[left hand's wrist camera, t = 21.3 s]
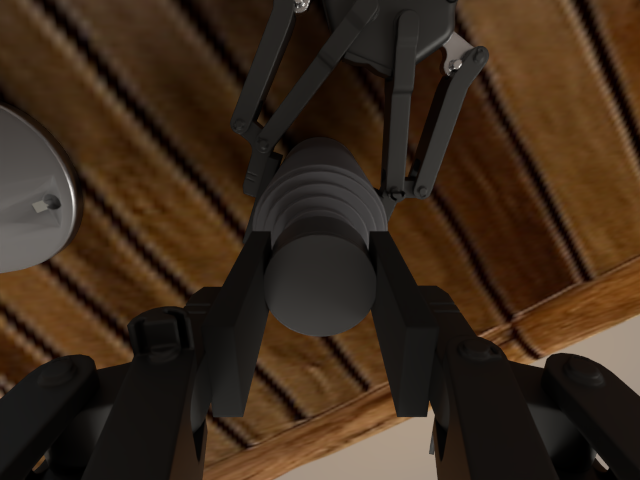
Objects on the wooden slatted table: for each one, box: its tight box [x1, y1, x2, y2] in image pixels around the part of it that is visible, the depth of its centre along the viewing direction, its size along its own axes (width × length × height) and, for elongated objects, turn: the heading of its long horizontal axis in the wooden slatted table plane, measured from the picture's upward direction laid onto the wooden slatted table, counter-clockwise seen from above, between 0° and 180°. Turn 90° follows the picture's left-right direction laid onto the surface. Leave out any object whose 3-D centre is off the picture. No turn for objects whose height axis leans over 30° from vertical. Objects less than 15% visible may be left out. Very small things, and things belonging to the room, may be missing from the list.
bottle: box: [252, 137, 388, 249], centre depth 22 cm, size 7×7×20 cm
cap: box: [264, 216, 377, 336], centre depth 13 cm, size 4×4×2 cm
